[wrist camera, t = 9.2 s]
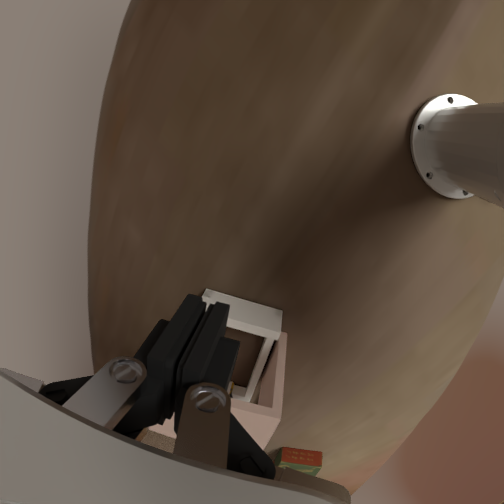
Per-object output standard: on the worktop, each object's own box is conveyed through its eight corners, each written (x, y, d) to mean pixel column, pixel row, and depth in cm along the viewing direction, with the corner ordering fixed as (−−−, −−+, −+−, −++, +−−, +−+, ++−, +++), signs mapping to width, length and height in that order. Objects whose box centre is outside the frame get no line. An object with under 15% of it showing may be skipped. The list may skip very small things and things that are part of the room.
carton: (261, 479, 58) (259, 494, 54) (281, 444, 52) (279, 461, 48) (297, 484, 58) (296, 499, 54) (323, 450, 52) (323, 467, 48)
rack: (282, 310, 41) (280, 332, 36) (237, 426, 51) (232, 448, 46) (206, 288, 41) (195, 308, 37) (181, 410, 51) (173, 430, 46)
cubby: (287, 332, 42) (281, 419, 28) (268, 378, 46) (256, 460, 32) (190, 304, 43) (148, 380, 29) (181, 353, 46) (145, 428, 32)
